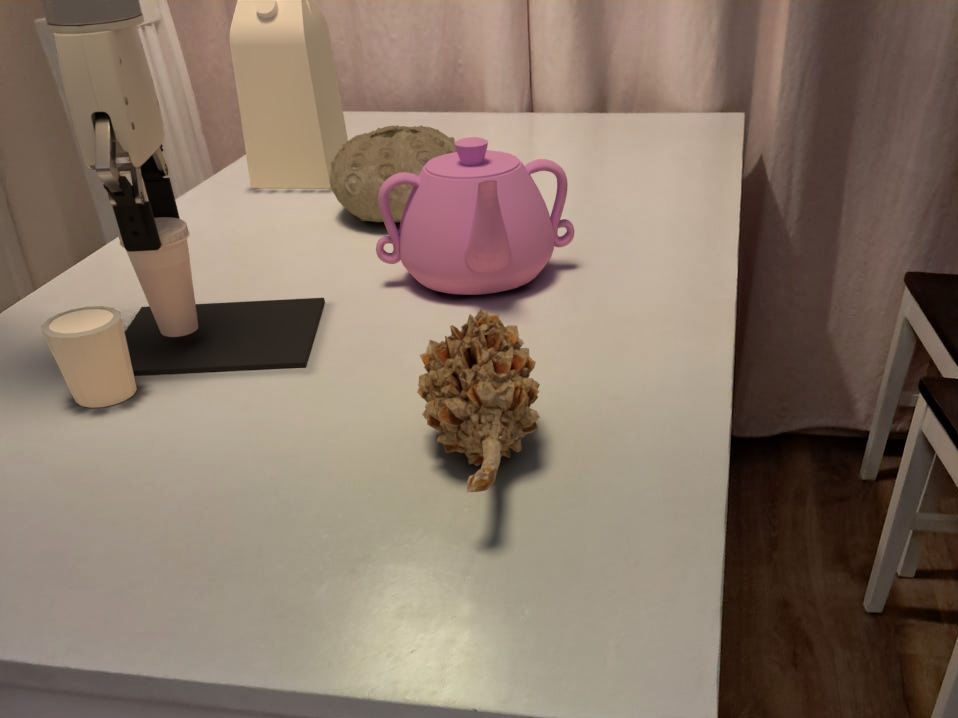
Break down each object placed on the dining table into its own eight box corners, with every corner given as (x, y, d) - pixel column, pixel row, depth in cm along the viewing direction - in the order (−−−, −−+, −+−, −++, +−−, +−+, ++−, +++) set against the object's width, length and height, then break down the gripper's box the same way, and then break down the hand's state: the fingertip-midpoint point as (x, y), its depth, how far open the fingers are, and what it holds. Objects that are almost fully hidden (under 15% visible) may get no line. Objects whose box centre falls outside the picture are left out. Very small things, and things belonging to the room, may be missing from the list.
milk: (352, 165, 140) (325, -47, 123) (330, 188, 132) (297, -36, 114) (277, 165, 142) (240, -44, 125) (250, 187, 134) (207, -33, 116)
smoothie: (152, 348, 88) (106, 192, 79) (142, 324, 93) (97, 174, 84) (218, 333, 90) (180, 180, 81) (205, 311, 95) (168, 163, 85)
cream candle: (147, 372, 89) (125, 300, 84) (139, 405, 84) (116, 331, 79) (74, 381, 88) (47, 309, 83) (62, 415, 83) (33, 340, 78)
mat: (98, 377, 89) (97, 372, 88) (142, 311, 100) (141, 306, 100) (305, 367, 88) (304, 362, 88) (325, 301, 100) (324, 297, 100)
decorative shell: (324, 204, 126) (311, 122, 119) (448, 185, 130) (442, 105, 123) (351, 244, 113) (339, 155, 107) (488, 223, 117) (485, 136, 110)
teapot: (390, 334, 93) (373, 187, 84) (374, 259, 109) (359, 129, 100) (602, 310, 95) (609, 164, 86) (556, 240, 111) (557, 111, 102)
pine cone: (417, 408, 81) (406, 296, 74) (526, 398, 81) (524, 285, 75) (435, 557, 64) (423, 429, 58) (571, 543, 65) (574, 414, 58)
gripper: (79, -8, 80) (139, 209, 92) (4, 24, 67) (85, 272, 79) (164, -13, 80) (213, 205, 92) (106, 19, 67) (171, 268, 79)
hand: (153, 234), depth 86 cm, fingers closed on smoothie, 6 cm apart
